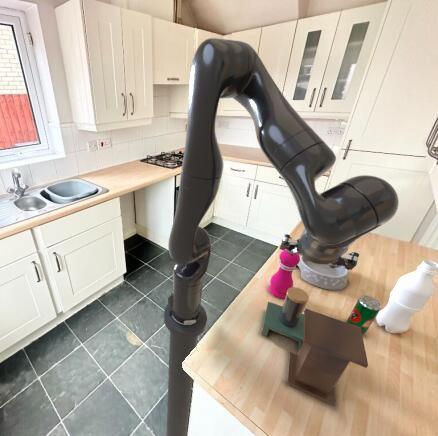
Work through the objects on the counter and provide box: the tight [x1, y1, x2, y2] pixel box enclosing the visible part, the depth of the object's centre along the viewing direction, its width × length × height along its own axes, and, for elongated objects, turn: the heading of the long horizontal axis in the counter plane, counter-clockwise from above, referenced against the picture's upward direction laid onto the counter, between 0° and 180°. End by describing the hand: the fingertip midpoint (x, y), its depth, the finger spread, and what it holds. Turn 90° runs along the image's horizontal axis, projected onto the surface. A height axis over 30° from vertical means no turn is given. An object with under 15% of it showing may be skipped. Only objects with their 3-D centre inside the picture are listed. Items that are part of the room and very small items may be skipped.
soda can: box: [345, 295, 382, 335], centre depth 72 cm, size 5×5×12 cm
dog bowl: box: [296, 255, 350, 291], centre depth 96 cm, size 17×18×5 cm
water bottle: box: [375, 259, 438, 334], centre depth 70 cm, size 7×7×25 cm
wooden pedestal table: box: [286, 307, 369, 407], centre depth 58 cm, size 11×10×18 cm
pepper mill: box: [269, 249, 300, 299], centre depth 84 cm, size 7×7×20 cm
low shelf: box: [260, 301, 304, 351], centre depth 74 cm, size 12×10×5 cm
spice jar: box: [279, 286, 310, 328], centre depth 70 cm, size 5×5×11 cm
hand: (311, 258), depth 61 cm, fingers open, 8 cm apart
